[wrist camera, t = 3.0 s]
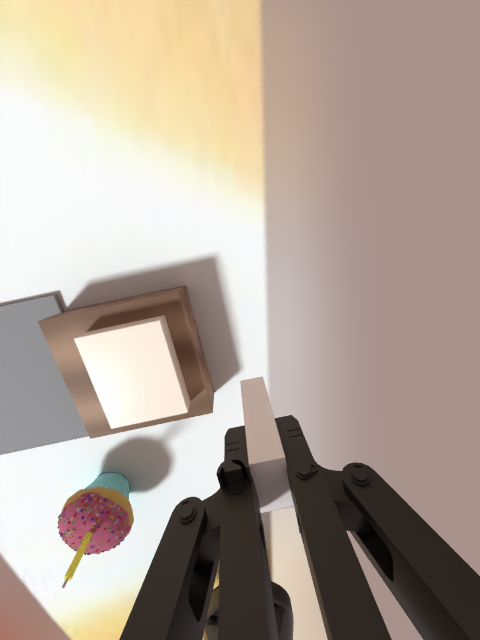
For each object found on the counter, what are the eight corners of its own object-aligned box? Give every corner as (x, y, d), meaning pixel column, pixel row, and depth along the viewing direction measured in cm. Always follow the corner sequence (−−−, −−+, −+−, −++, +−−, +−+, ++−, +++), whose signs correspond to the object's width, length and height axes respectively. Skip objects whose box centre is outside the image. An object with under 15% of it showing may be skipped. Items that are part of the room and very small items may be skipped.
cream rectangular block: (190, 401, 28) (187, 412, 26) (119, 416, 28) (111, 428, 26) (164, 315, 25) (159, 320, 23) (85, 331, 25) (73, 338, 23)
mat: (112, 428, 33) (110, 431, 32) (-24, 457, 33) (-28, 460, 32) (56, 294, 28) (53, 295, 27) (-104, 328, 28) (-109, 329, 27)
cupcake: (89, 454, 33) (17, 561, 22) (152, 470, 35) (115, 580, 23) (74, 501, 35) (1, 623, 24) (134, 515, 37) (92, 637, 25)
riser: (214, 393, 32) (212, 412, 28) (106, 415, 32) (90, 438, 28) (185, 285, 28) (178, 291, 24) (63, 311, 28) (37, 321, 24)
